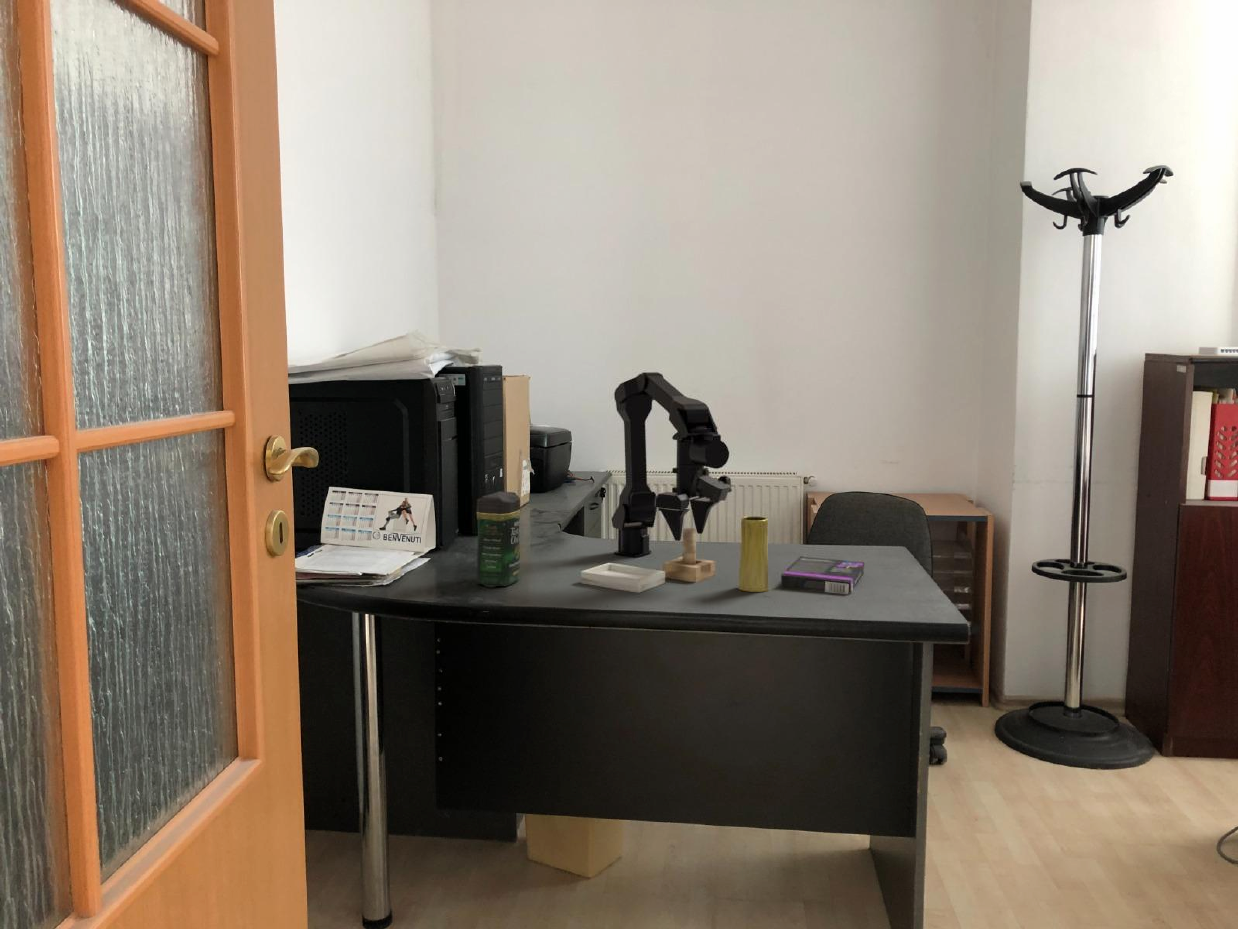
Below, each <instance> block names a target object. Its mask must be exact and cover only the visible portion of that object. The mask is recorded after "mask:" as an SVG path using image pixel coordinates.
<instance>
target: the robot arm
mask: <svg viewBox="0 0 1238 929" xmlns="http://www.w3.org/2000/svg"><path fill="white" fill-rule="evenodd" d="M613 396H614V402H615V408H616V411H617V414H618V415H619V417H621V419H622V421H623V431H624V467H625V470H624V471H625V485H624V487H623V489H622V491H621V493H620V494H619V497H618V506H617V508H616V510H615V511H614V513H613V515H612V517H611V524H612V528H613V529H617V531H618V532H617V540H618V542H617V550H615V551H613V552H614V554H615V555H620V556H621V555H622V556H626V557H636V558H637V557H642V556H645V555H647V554H650V553H652V550H651V549H650V534H649V528H651V529H652V528H654V526H655V522H656V521H655V520H656V516H657V513H658V512H657V511H659V512H661V514H662V515H663V517H664V519H665V521H666V523H667V526H668V528H669V530H670V532H671V534H672V537H673V539H674V540H675V542H676V541H678V542H680V541H681V540H682V536H683V526H684V517H685V516H686V514H687V513H688V512H689V511H690V508H689V505H690V507H691V512H692V518H693V522H694V526H695V529H696V534H699V535H702V534H703V532H704V530H705V528H706V524H707V521H708V517H709V515H710V512H711V510H712V508H714V507H715V505H718V504H719V503H721V501H726V499H727V496H728V494H729V493H731V492H732V491H733V490H732V481H731V477H730V476H727V475H726V474H725V475H724V474H723V475H721V476H719V477H713V476H712V475H711V476H710V470H709V469H708V468H710V469H715V470H716V469H717V470H718V469H721V468H723V467H725V466H726V465H727V463H728V461H729V459H730V458H729V457H730V451H729V448H728V446H727V444H726V443H725V442H724V441H722V434H719V432H718V426H717V425H716V423H715V421H714V418H713V416H712V414H711V410H710V407H709V406H708V404H706V403H705V402H703V401H701V400H699V399H696V398H691V397H688V396H686V395H684V393H682V392H681V391H679V390H678V388H676V386H674V385H672V383H670V382H669V381H668V380H667V379H665V378H664V375H663V374H662V373H660V372H658V371H656V372H655V371H654V372H653V371H652V372H641V373H638V375H637V376H635V377H633V378H630V379H628V380H625V381H623V382H621V383H619V385H618V386H617V387H616V388H615V389H614V394H613ZM653 401H655V403H657V404H659V406H660V407H662V409H664V410H665V411H666V412H667V413H668V414H669V415H668V421H669V422H670V424H672V426H673V428H674V429H675V430H676V431H677V432H675V433H674V434H673V435H672V438H671V439H672V440H673V441H676V465H675V466H676V467H672V470H671V471H672V472H671V473H673V474H675V476H676V478H675V480H676V482H675V485H676V486H674V487H672V488H671V491H664V492H661V493H658V494H656V492H655V491H652V490H651V488H650V486H649V485H648V477H647V476H648V474H647V473H648V472H647V468H648V467H647V464H648V463H647V439H646V438H647V436H646V435H647V434H646V430H647V429H646V421H647V419H648V417H649V415H650V413H651V412H652V410H653Z"/></svg>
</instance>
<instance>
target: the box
mask: <svg viewBox="0 0 1238 929" xmlns="http://www.w3.org/2000/svg"><path fill="white" fill-rule="evenodd" d="M864 572H865V562H864V561H854V560H852V561H851V560H842V559H836V558H835V559H831V558H821V557H820V558H819V557H809V556H802V555H801V556H799V557H798V558H797V559H796V560H795V561H794V562H792V564H790V566H788V567H787V568H786V569H785V570H784V571H783V572H782V573H781V576H780V578H781V580H780V583H781V585H780V586H781V589H782V588H783V589H791V590H798V591H799V590H802V591H809V592H811V591H813V592H820V593H821V592H824V593H831V594H843V595H851V594H852V592H853V591H854V589H855V588H856V587H857V585H858V584H859V582H860V580H861V578H862V577H863V575H864Z"/></svg>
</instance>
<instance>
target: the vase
mask: <svg viewBox="0 0 1238 929" xmlns="http://www.w3.org/2000/svg"><path fill="white" fill-rule="evenodd" d="M768 522H769V519H768V518H767V517H764V516H759V515H758V516H757V515H755V516H754V515H753V516H752V515H751V516H750V515H749V516H743V517H741V522H740V523H741V524H740V527H741V528H740V530H741V531H740V534H741V536H740V538H741V539H740V555H739V556H740V558H739V570H738V585H737V588H738V590H740V591H743V592H747V593H748V592H749V593H762V592H766V591H769V565H768V564H769V555H768V554H769V550H768V548H769V546H768V543H769V540H768V536H769V533H768V532H769V531H768V525H769V524H768Z"/></svg>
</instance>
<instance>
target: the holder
mask: <svg viewBox="0 0 1238 929" xmlns="http://www.w3.org/2000/svg"><path fill="white" fill-rule="evenodd" d="M662 571H665V579H674V580H679V581H686V582H690V583H691V582H692V583H698V582H701V581H703V580H706V579H708V578H711V577H713V576H715V575H716V561H715V560H710V559H702V558H696V564H695V565H687V564H682V556H680V557H679V556H678V557H677V558H674V559H671V560H668V561H665V562H663V563H662Z"/></svg>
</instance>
